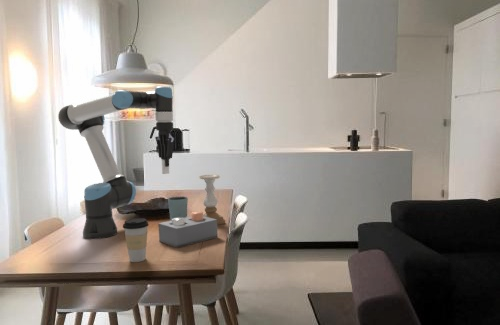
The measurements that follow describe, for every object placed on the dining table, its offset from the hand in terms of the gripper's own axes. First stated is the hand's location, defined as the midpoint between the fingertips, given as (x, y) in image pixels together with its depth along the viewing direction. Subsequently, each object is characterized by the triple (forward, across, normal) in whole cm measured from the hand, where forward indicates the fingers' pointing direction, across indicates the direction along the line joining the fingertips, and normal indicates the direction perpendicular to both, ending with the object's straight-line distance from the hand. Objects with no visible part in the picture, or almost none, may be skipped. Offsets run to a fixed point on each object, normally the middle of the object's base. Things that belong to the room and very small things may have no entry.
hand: (165, 173), depth 195 cm
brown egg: (+23, -16, -6) cm, 29 cm away
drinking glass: (+28, +16, -18) cm, 37 cm away
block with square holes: (+27, -16, -1) cm, 32 cm away
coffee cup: (+28, -24, +28) cm, 47 cm away
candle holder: (+28, 0, -26) cm, 38 cm away
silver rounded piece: (+25, -16, +4) cm, 30 cm away
